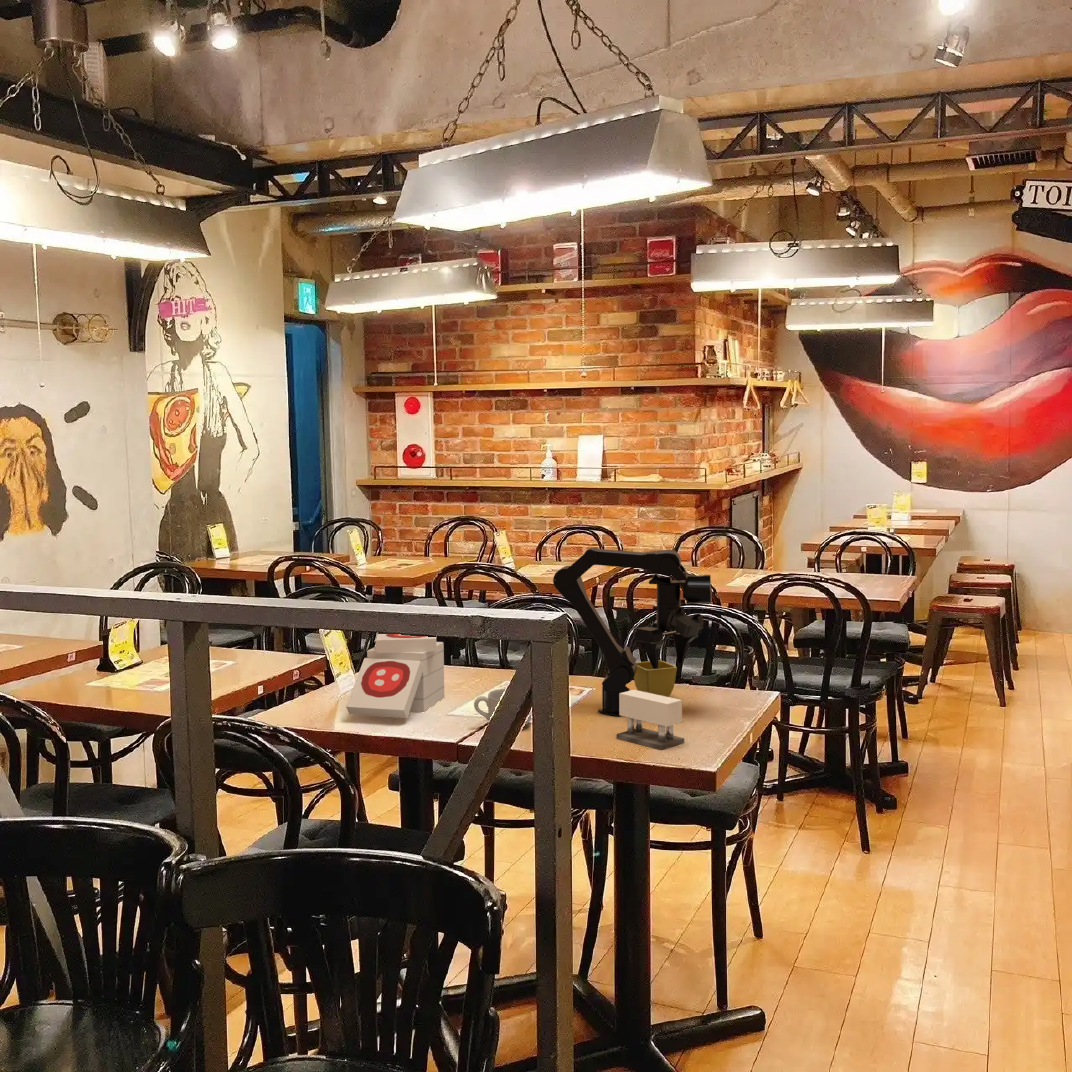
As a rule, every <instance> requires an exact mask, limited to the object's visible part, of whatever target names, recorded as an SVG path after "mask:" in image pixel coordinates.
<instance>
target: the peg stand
mask: <svg viewBox="0 0 1072 1072" xmlns="http://www.w3.org/2000/svg"><path fill="white" fill-rule="evenodd" d="M626 719H627V720H626V724H627V725H626V727H627V728H626V731H622V732H620V733H616V739H617V740H621V741H625V742H629V743H633V744H636V745H640V746H644V747H649V748H652V749H656V750H659V751H663V750H666V749H668V748H672V747H675V746H678V745H681V744H684V743H685V738H684V737H681V736H677V735H674V725H671V726H668V727H667V726H663V725H658V724H657V731H656V730H654V729H653V730H652V729H649V728H643V721H642V720H638V719H634V718H629V717H626Z"/></svg>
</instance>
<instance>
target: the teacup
mask: <svg viewBox="0 0 1072 1072" xmlns="http://www.w3.org/2000/svg"><path fill="white" fill-rule="evenodd" d="M506 688H507V687H506ZM506 688H498V689H493V690H490V691H489V692H488V693H487V697H486V696H483V695H480V696H478V697H477V698H476V699H475V700H474V702H473V707H474V710H475V711H476V712H477V714H479V715H481V716H482V717H484V718H485V719H486V720H487V721H489V720H490V717H491V716H492V714H493V712H494V711H495V707H496V706H497V704H498V702H499V701H500V697H501V696H502V694H503V692H504V691H505V689H506ZM482 701H483V702H485V704H486V707H487V708H488V709H487V712H485V711H483V710H482V709H481V708H479V703H481V702H482ZM531 721H532V718H531V715H530V716H529V717H528V720H527V721H526V725H527V724H529V723H530V722H531Z"/></svg>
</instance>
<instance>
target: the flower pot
mask: <svg viewBox="0 0 1072 1072" xmlns="http://www.w3.org/2000/svg"><path fill="white" fill-rule="evenodd" d="M635 663H636V665H637V670H636V673H635V676H634V678H633V681H634V685H635V688H636V690H638V691H642V692H647V693H652V694H656V695H661V696H666V697H671V694H672V692H673V690H674V688H675V682H676V677H677V670H678V668H677V666H675V664H674V665H673V664H671V663H669V662H666V661H664V660H659V661H658V669H653V667H652V665H651V663H650V660H649V661H640V662H635Z"/></svg>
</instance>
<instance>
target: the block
mask: <svg viewBox="0 0 1072 1072" xmlns="http://www.w3.org/2000/svg"><path fill="white" fill-rule="evenodd" d="M619 715H620V716H621V717H626V718H627V717H629V718H634V720H635V719H638V720H642V722H647V723H651V724H655V725H657V726H658V725H663V726H665V727H666V726H667V727H668V726H671V725H673V726H674V725H679V724H680V723H683V699H679V698H674V697H671V696H669V697H666V696H661V695H656V694H652V693H647V692H642V691H638V690H637V689H632V690H631V689H630V690H629V691H627V692H623V693H619Z"/></svg>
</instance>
